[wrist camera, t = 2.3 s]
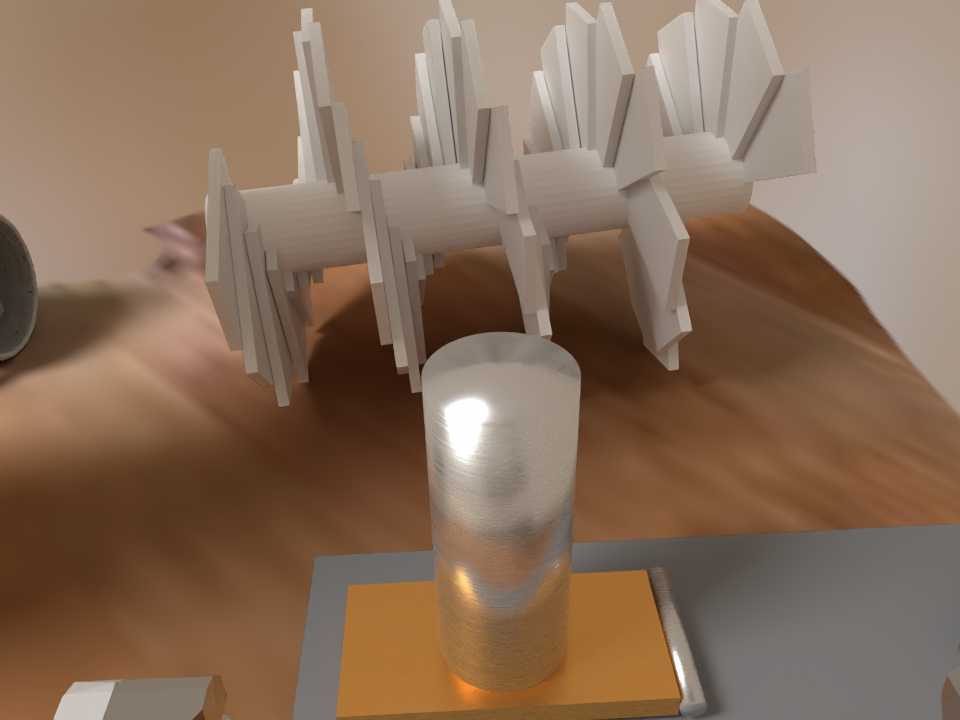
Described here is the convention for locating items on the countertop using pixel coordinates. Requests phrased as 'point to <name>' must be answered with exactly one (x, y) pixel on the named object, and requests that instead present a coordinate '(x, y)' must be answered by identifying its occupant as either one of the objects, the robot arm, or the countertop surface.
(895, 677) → the board
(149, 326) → the countertop surface
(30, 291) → the ceramic mug
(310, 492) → the countertop surface
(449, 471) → the metal post on plate
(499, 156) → the spiral staircase
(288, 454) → the countertop surface
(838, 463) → the countertop surface
